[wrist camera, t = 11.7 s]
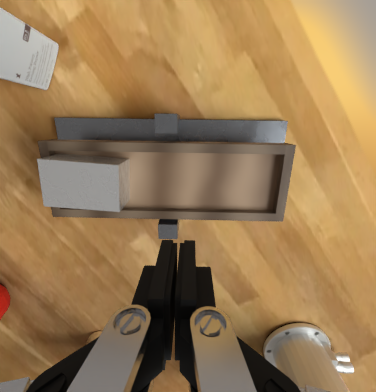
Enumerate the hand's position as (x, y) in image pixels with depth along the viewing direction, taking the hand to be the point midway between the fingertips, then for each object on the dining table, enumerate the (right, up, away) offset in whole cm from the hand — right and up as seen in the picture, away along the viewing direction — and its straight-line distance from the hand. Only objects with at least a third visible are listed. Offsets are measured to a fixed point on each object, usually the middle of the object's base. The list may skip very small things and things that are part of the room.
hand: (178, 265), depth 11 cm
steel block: (-10, +6, +15) cm, 19 cm away
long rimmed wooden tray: (-2, +6, +16) cm, 17 cm away
